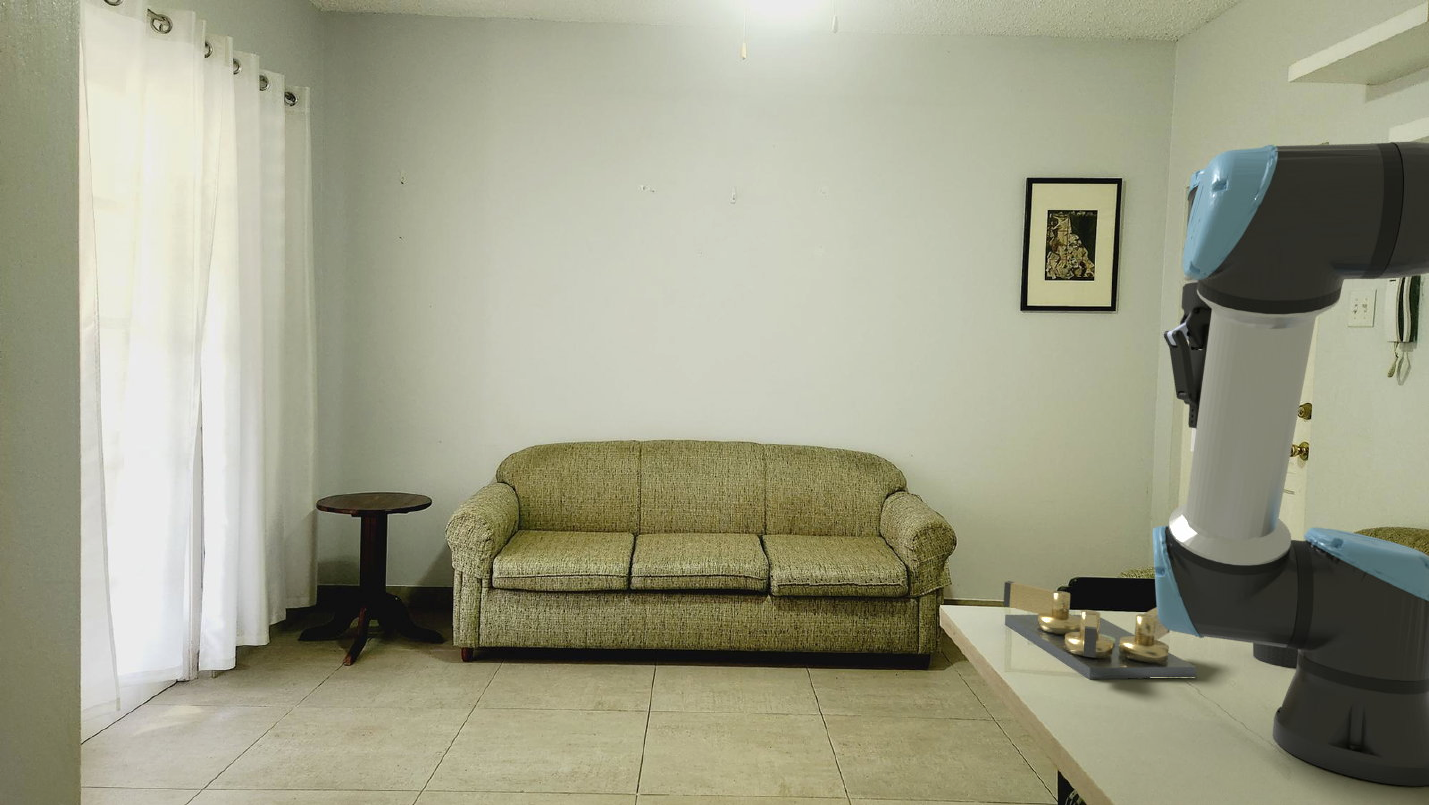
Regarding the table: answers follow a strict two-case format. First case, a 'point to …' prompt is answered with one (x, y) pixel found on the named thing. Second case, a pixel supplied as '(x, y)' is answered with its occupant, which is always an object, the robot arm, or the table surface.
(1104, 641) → the brass knob
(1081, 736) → the table surface
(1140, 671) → the levelling plate
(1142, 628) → the brass knob
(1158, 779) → the table surface
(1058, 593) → the brass knob
